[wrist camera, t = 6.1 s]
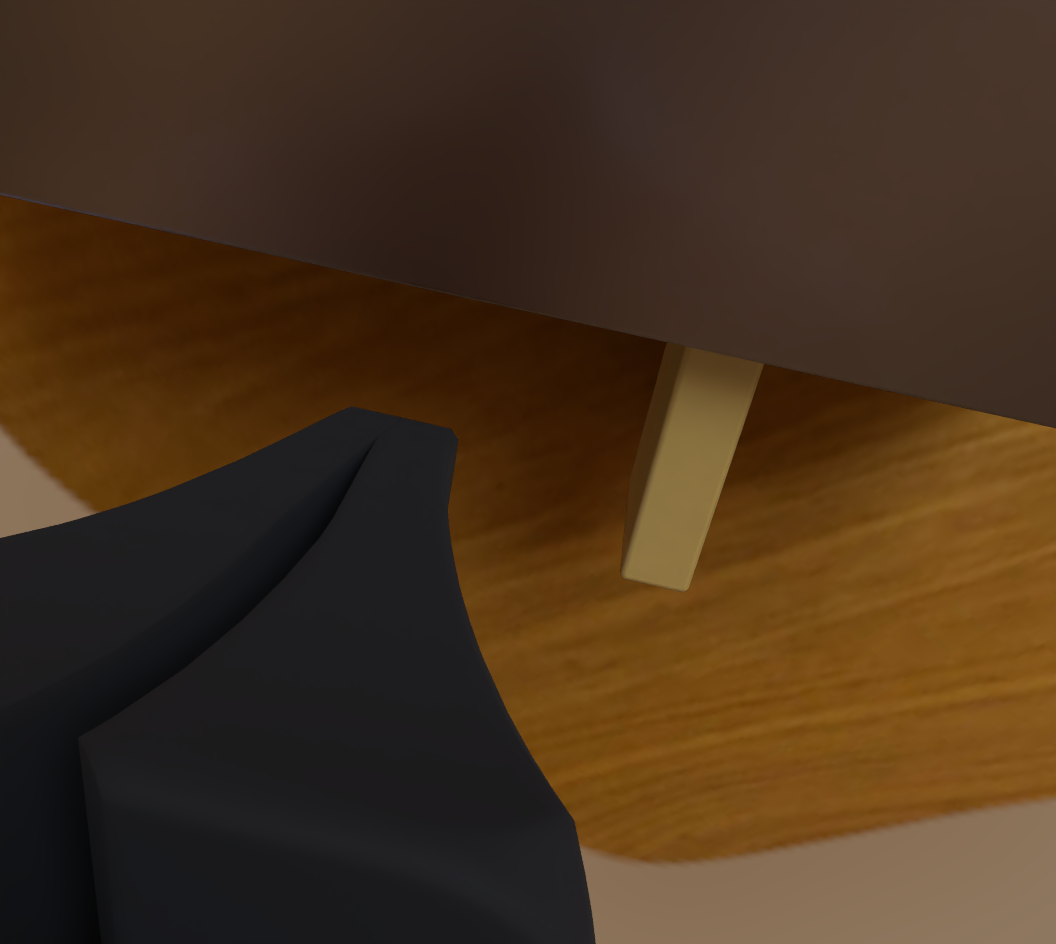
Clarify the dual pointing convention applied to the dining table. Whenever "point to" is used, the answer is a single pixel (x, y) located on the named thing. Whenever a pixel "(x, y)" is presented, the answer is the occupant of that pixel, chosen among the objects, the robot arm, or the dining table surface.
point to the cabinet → (593, 163)
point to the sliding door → (683, 462)
